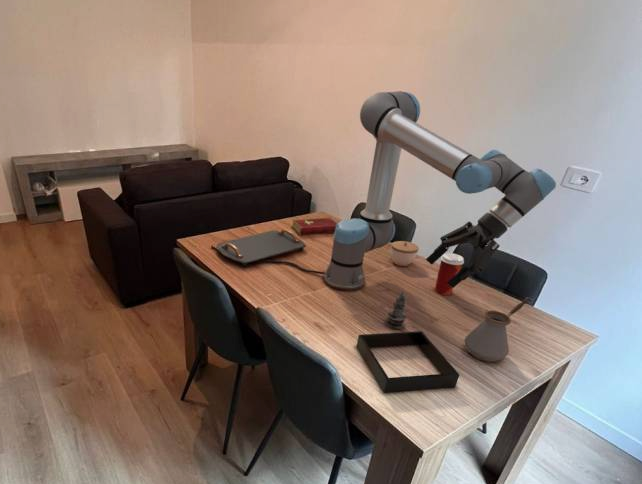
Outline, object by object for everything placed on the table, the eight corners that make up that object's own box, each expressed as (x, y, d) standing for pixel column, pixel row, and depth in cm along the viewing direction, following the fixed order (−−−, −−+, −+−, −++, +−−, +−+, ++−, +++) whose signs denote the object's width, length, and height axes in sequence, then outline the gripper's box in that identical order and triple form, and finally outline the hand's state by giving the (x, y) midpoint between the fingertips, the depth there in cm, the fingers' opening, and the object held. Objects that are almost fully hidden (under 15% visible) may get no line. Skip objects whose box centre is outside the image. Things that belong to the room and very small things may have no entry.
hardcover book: (339, 233, 201) (340, 224, 199) (299, 235, 196) (300, 227, 194) (329, 224, 211) (331, 216, 209) (291, 227, 206) (292, 219, 204)
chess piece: (404, 321, 133) (412, 289, 126) (404, 331, 128) (412, 298, 122) (385, 318, 134) (392, 286, 128) (384, 327, 129) (392, 295, 123)
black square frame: (383, 393, 103) (386, 380, 101) (356, 347, 120) (358, 334, 118) (454, 387, 106) (459, 374, 104) (418, 343, 123) (421, 330, 120)
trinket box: (384, 257, 176) (388, 237, 172) (407, 257, 177) (412, 237, 172) (393, 268, 167) (398, 247, 162) (418, 268, 168) (424, 247, 163)
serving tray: (278, 234, 197) (279, 221, 194) (311, 250, 181) (313, 237, 178) (210, 251, 178) (209, 237, 174) (239, 271, 162) (240, 256, 158)
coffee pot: (490, 371, 112) (509, 325, 104) (453, 348, 120) (468, 305, 113) (531, 348, 122) (552, 305, 114) (495, 329, 130) (511, 288, 123)
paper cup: (456, 297, 147) (467, 262, 140) (433, 294, 149) (444, 260, 142) (451, 287, 154) (462, 253, 147) (430, 285, 155) (439, 251, 148)
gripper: (534, 247, 107) (467, 302, 116) (481, 210, 127) (427, 259, 136) (519, 232, 104) (452, 290, 112) (467, 196, 124) (413, 247, 133)
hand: (438, 273), depth 124 cm, fingers open, 13 cm apart
